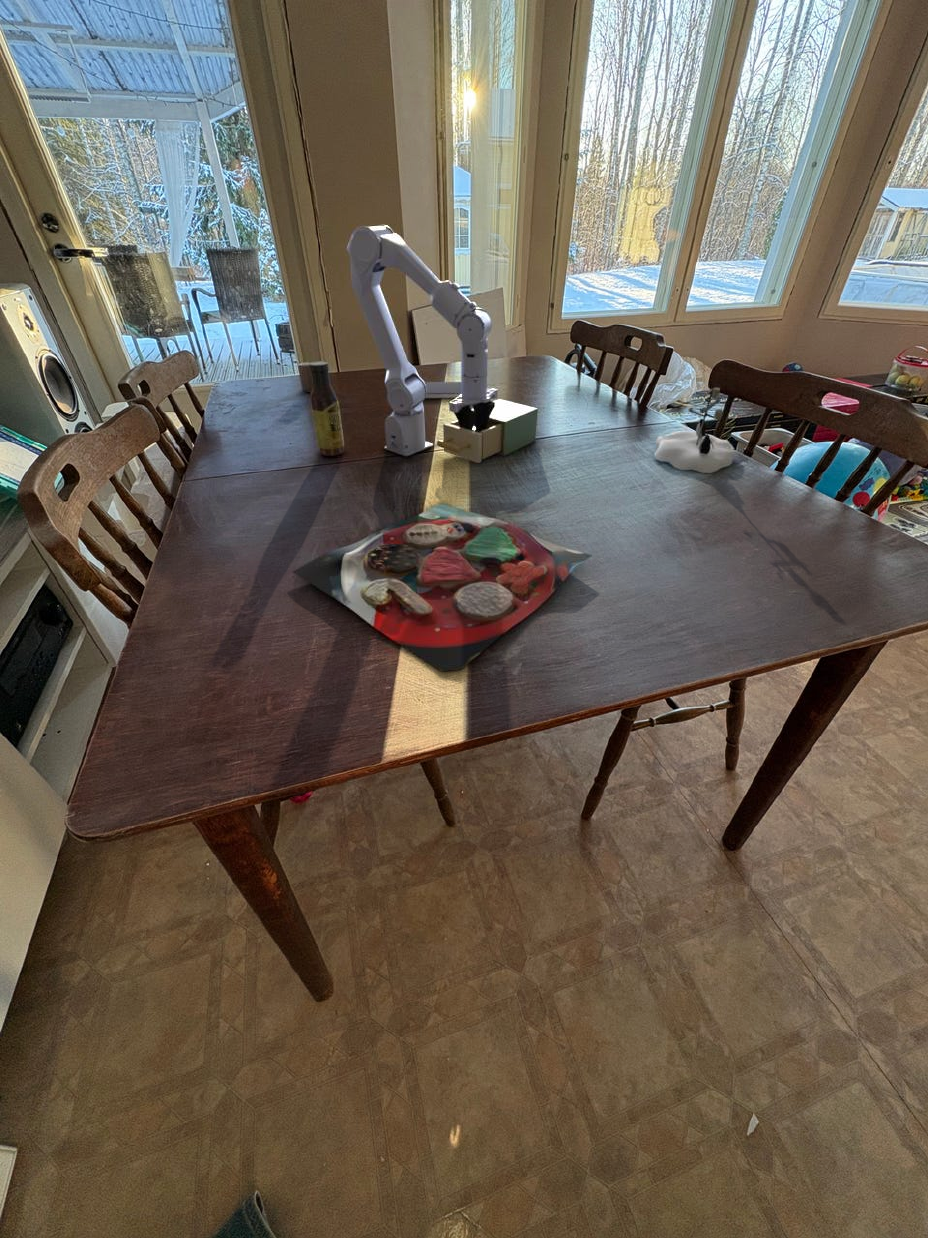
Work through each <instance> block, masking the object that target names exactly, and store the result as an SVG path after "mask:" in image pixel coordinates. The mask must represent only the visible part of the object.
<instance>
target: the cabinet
mask: <svg viewBox="0 0 928 1238" xmlns="http://www.w3.org/2000/svg"><path fill="white" fill-rule="evenodd" d="M492 402H495V407H494V409H493V411H492V412H491V415H490V417H489V420H493V421H496V422H500V423H503V424H504V428H503V450H502V451H500V452H497V453H496V454H497V455H500V456H507V455H508V454H510V453H513V452H515V451H517V450H519V449H521V448H523V447H525V446H527V445H530V444H532V443H534V442H536V435H537V425H538V423H537V422H538V414H539V408H538V407H533V406H529V405H525V404H521V403H517V402H513V401H510V400H505V399H501V398H498V399H494V400H493V401H492ZM471 410H473V411H474V409H471Z"/></svg>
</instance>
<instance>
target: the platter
mask: <svg viewBox="0 0 928 1238" xmlns="http://www.w3.org/2000/svg"><path fill="white" fill-rule="evenodd" d="M592 556H593V554H590V553H585V552H582V551H579V550H575V549H571V548H568V547H563V546H560V545H557V544H554V543H552V542H549V541H547V540H545V539H542V538H541V537H538V536H536V535H534V534H532V533H530V532H529V531H527V530H524V529H523V528H521V527H519V526H516V525H514V524H511V523H509V522H506V521H504V520H501V519H497V518H494V517H491V516H487V515H484V514H481V513H476V512H472V511H469V510H465V509H461V508H458V507H454V506H450V505H447V504H443V503H438V504H437V505H435V506H433V507H431V508H429V509H427V510H425V511H423V512H421V513H419V514H417V515H414V516H411V517H409V518H407V519H404V520H401V521H399V522H397V523H394V524H392V525H389V526H386V527H384V528H383V529H379V530H376V531H374V532H373V533H371V534H370V535H368V536H366V537H364V538H362V539H360V540H359V541H357V542H354V543H352V544H349V545H346V546H342V547H339V548H335V549H332V550H330V551H327V552H325V553H323V554H321V555H320V556H317V557H316V558H313V559H312V560H310V561H309V562H307V563H306V564H304V565H302V566H300V567H298V568H297V569H295V570H293V571H292V573H293V574H295V576H298V577H300V578H302V579H303V580H305V581H306V582H308V583H309V584H310V585H312V586H314V587H316V588H317V589H318V590H320V591H322V592H323V593H325V594H326V595H329V596H330V597H332V598H333V599H335V600H336V601H338V602H340V603H341V604H343V605H344V606H346V607H347V608H349V609H350V610H351V611H352V612H354V613H355V614H356V615H358V616H359V617H360V618H361V619H362V620H364V621H365V622H366V623H368V624H369V625H370V626H372V627H373V628H375V629H376V630H377V631H379V632H380V633H381V634H383V635H385V636H386V637H388V638H389V639H390V640H392V641H393V642H395V643H397V644H398V645H400V646H401V647H403V648H404V649H406V650H407V651H409V652H410V653H412V654H413V655H415V656H416V657H418V658H419V659H420V660H423V661H424V662H426V663H428V664H429V665H430V666H432V667H434V668H436V669H438V670H439V671H441V672H446V671H460V670H462V669H463V668H464V667H465V666H467V665H468V664H469V663H470V662H472V661H473V660H474V659H475V658H476V657H478V656H479V655H480V654H481V653H482V652H483V651H484V650H486V649H487V648H488V647H489V646H490V645H492V644H493V643H494V642H496V641H497V640H498V639H499V638H500V637H502V636H503V635H504V634H505V633H506V632H508V631H509V630H510V629H511V628H513V627H514V626H516V625H517V624H519V623H520V622H522V621H523V620H524V619H525V618H527V617H528V616H530V615H531V614H532V613H533V612H535V611H536V610H537V609H539V607H540V606H542V604H543V603H545V602H546V601H547V600H548V599H549V597H551V596H552V595H553V594H554V592H555V591H557V589H558V588H559V587H560V585H561V584H562V583H563V582H564V581H565V580H566V579H567V577H568V576H569V575H571V573H573V572H575V570H576V569H577V568H578V567H580V566H582V564H584V563H585V562H586V561H587V560H589V559H590V558H591V557H592Z"/></svg>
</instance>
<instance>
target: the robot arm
mask: <svg viewBox="0 0 928 1238" xmlns="http://www.w3.org/2000/svg"><path fill="white" fill-rule="evenodd" d="M346 250H347V253H348V255H349V258H350V259H349V260H350V280H351V281H350V282H351V287H352V289H353V291H354V294H355V297H356V299H357V302H358V304H359V307H360V309H361V312H362V314H363V317H364V319H365V322H366V324H367V326H368V328H369V329H368V330H369V332H370V333H371V337H372V339H373V341H374V344H375V346H376V349H377V352H378V354H379V357H380V359H381V361H382V364H383V366H384V369H385V378H384V385H385V388H386V393H387V402H388V405H389V407H390V408H391V409H392V410H393V411H392V412H391V414H390V415H388V416H387V417H386V418H385V419H384V434H385V444H386V445H385V446H384V450H386V451H390V452H392V453H396V454H398V455H401V456H403V457H409V456H412V455H414V454H416V453H419V452H421V451H423V450H426V449H428V448H431V447H433V446H434V443H432V442H429V441H426V427H425V408H424V407H425V406H424V402H423V401H425V397H426V394H427V388H426V384H425V382H426V381H424V379H423V378H422V377H421V376H420V375H419V373H418V371H417V368H416V367H415V366H414V365H412V364H411V363H410V362H409V360H408V358H407V355H406V352H405V349H404V346H403V344H402V341H401V339H400V337H399V334H398V331H397V329H396V325H395V323H394V321H393V317H392V316H391V312H390V310H389V306H388V305H387V301H386V299H385V297H384V294H383V292H382V289H381V285H380V284H381V281H382V279H383V276H384V273H385V270H387V268H393V269H394V268H395V269H398V270H400V271H401V272H402V273H403V274H405V276H407V277H408V278H409V279H410V280H411V281H413V282H414V283H415V284H416V285H417V286H418V287H420V288H421V289H422V290H423V291H424V292H425V293H426V294H427V295H428V296H429V298H430V304H431V307H432V309H434V310H435V311H436V312H437V313H438V314H439V315H440V316H441V317H442V318H444V320H446V321H447V323H448V324H450V325H451V327H453V328H454V329H456V334H457V338H458V339H459V341H460V343H461V351H460V372H461V374H460V375H461V376H460V378H461V379H460V380H461V381H460V382H461V395H460V396H458V397H457V398H453V400H451V401H449V402H448V406H449V407H448V408H449V410H448V411H449V412H451V413H453V414H454V416H455V418H456V420H458V422H459V424H460V427H462V428H465V429H468V430H472V431H473V423H474V419H475V424H477V425H481V426H484V427H486V426H487V423H488V420H489V417H490V415H491V412H492V411H493V409H494V407H495V402H493V401H492V399H494V400H496V399H497V398H498V391H499V390H498V388H494V387H489V388H488V363H489V362H488V361H489V357H488V356H489V351H488V345H489V344H488V343H489V337H488V336H489V334H490V333H491V330H492V319H491V317H490V315H489V313H488V312H487V311H486V309H484V308H481V307H477V306H478V305H477V303H476V302H475V301H472V302H471V301H470V300H469V298H467V296H465V295H464V294H463V293H462V292H461V291H460V290H459V289H460V285H459V284H458V283H457V282H451V280H443V281H441V280H440V279H439V278H438V277H437V276H436V275H435V273H434V272H432V271H431V269H430V268H429V267H428V266H427V264H425V263H424V261H422V259H420V257H419V256H418V255H417V254H416V252H414V251H413V250H412V249H411V248H410V246H409V245H407V243H406V242H405V240H404V239H403V237H401V236H400V235H399V234H397V233H395V231H394V230H393V229H392V228H391V227H390V226H388V225H386V224H377V225H374V226H373V225H371V226H366V225H360V226H357V227H356V228H355V229H354V230H353V231H352V233H351V236H350V238H349V241H348V244H347V247H346ZM470 406H473V409H474V411H473V410H471V408H470Z"/></svg>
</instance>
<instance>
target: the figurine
mask: <svg viewBox="0 0 928 1238" xmlns="http://www.w3.org/2000/svg"><path fill="white" fill-rule="evenodd" d="M720 392H721V388H720V387H717V386H716V387H713V388H710V389H709V390H708V391H707V392H706V395H707V396H708V397H707V398H705V400H704V401H703V403H702V405H704V404H706V405H705V407H704V406H703V407H702V408H699V412H697V411H695V410H694V409H693V408H692V407H689V408H688V410H687V411H688V412H689V413H692V414H693V415H695V416H697V417H698V416H699V417H702V418H699V420H698V421H699V422H698V424H697V426H696V429H695V431H691V430H686V429H683V430H678V431H674V432H672V433H669V434H666V435H659V436H658V437H657V438H656V441H655V446H656V447H657V449H656V451H655V452H654V459H655V460H657V461H659V462H663V463H664V462H665V463H669V464H670V465H671V466H672V467H674V469H678V470H681V471H696V472H698V473H703V474H712V473H715V472H717V471H719V470H721V469H722V468H726V467H730V466H731V465H732V463H733V461H734V459H735V458H736V457H737V454H738V453H737V451H736V449H735V448H734V446H733V445H732V444H731V443H730V442H729V441H728V440H726V439H722V438H721V439H720V438H718V437H717V436H714V435H712V434H709V433H706V431H707V424H706V422H705V421H706V418H707V417H708V418H711V419H714V420H717V421H722V416H723V414H724V411H723V409H721V408H718V409H716V410H715V411H714V413H713V415H712V414H709V413H708V412H709V410H712V408H713V407H715V406H716V405H717V404H719V403H720V402H721V401H722V400H721V398H722V397H721V396H719V395H720ZM713 399H715V400H714V401H713V402H712V403H711V401H712V400H713ZM727 447H728V448H727ZM729 448H731V449H729ZM733 449H735V450H733Z"/></svg>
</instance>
